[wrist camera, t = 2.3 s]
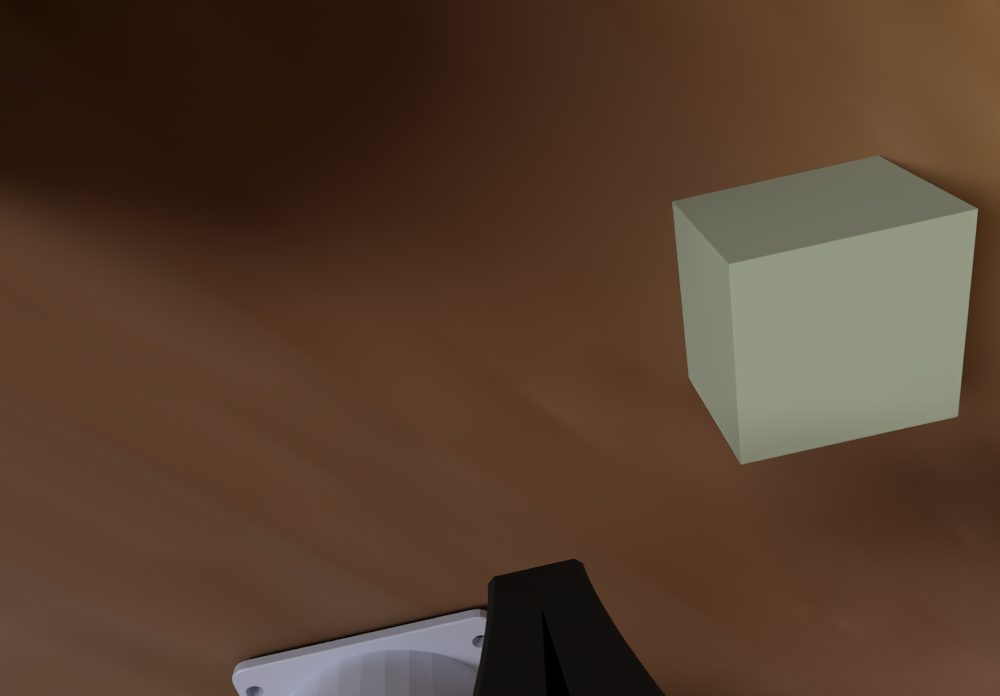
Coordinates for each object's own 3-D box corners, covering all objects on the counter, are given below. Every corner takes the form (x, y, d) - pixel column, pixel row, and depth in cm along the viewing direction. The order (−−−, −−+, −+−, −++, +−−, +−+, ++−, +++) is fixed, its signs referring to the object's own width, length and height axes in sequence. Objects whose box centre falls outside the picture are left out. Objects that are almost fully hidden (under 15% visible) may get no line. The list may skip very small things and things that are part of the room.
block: (869, 334, 22) (957, 416, 19) (687, 374, 22) (741, 464, 19) (875, 154, 20) (978, 209, 16) (670, 199, 20) (728, 264, 16)
